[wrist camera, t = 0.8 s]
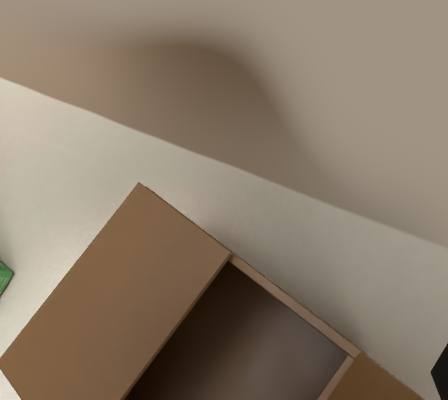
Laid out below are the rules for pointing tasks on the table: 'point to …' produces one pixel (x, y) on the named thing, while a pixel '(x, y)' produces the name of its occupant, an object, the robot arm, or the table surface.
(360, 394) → the flap
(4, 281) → the ink box
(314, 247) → the table surface
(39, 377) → the carton
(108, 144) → the table surface
